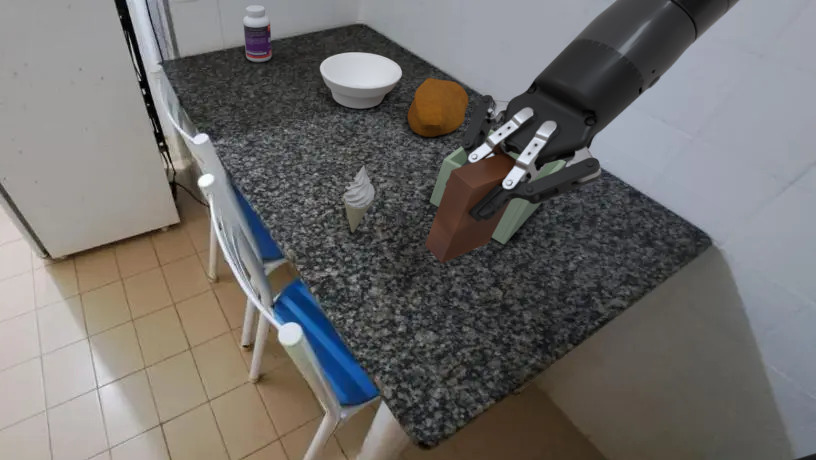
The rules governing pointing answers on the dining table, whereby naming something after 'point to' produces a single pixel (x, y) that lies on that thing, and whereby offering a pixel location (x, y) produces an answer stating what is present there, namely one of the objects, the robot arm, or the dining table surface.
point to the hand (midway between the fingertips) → (461, 205)
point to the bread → (437, 108)
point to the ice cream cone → (358, 198)
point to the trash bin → (517, 207)
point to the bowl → (360, 78)
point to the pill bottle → (257, 34)
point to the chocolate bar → (467, 208)
